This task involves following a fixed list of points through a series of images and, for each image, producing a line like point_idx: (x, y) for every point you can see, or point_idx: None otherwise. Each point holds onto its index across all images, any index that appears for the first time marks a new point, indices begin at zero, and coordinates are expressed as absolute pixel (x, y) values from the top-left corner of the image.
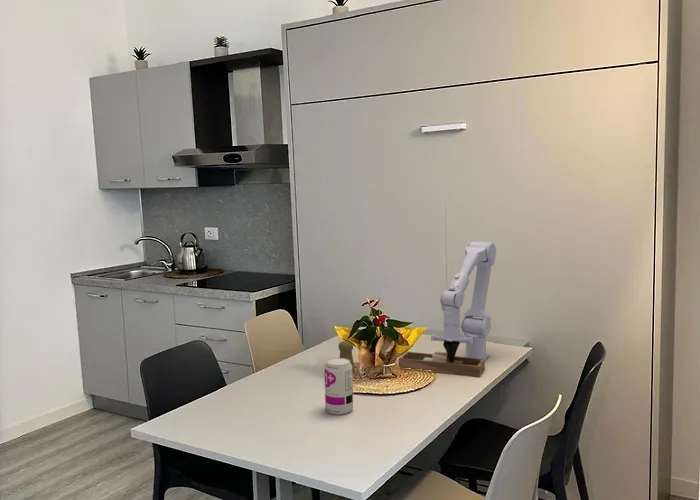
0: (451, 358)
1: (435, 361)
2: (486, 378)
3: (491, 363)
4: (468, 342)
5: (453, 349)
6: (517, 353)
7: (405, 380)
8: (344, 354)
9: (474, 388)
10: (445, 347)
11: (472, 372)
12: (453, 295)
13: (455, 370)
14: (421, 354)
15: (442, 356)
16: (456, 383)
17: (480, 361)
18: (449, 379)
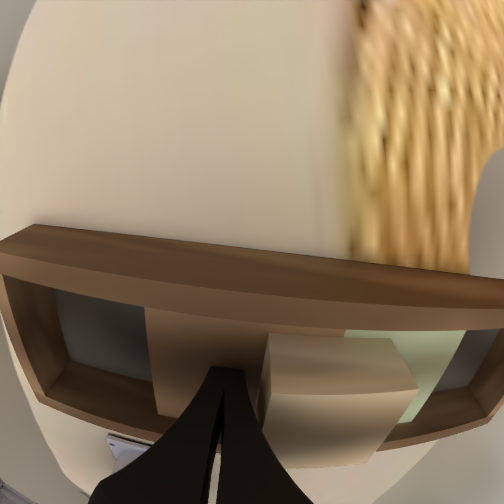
0: (217, 391)
1: (373, 351)
2: (7, 215)
3: (80, 423)
4: (5, 491)
5: (164, 467)
6: (71, 470)
7: (500, 74)
8: None
9: (49, 14)
10: (288, 494)
11: (50, 236)
12: None
13: (173, 254)
14: (434, 429)
15: (317, 392)
16: (150, 37)
17: (29, 364)
18: (215, 108)
